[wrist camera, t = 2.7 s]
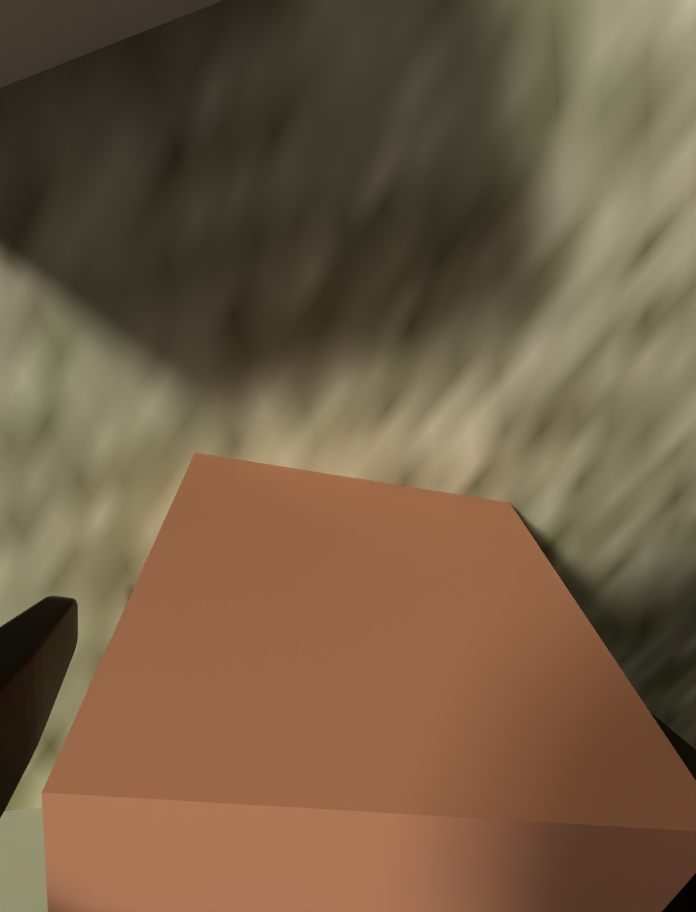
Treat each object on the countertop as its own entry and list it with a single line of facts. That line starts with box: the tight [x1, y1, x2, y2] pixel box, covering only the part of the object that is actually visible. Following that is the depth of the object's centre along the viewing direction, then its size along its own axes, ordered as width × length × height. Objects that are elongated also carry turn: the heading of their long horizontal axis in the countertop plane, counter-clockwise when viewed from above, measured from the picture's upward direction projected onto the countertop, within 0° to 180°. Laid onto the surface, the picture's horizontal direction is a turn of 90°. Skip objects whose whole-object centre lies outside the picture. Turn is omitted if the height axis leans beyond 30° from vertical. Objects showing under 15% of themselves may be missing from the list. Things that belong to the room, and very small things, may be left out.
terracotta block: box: [42, 453, 696, 912], centre depth 8 cm, size 6×6×6 cm
